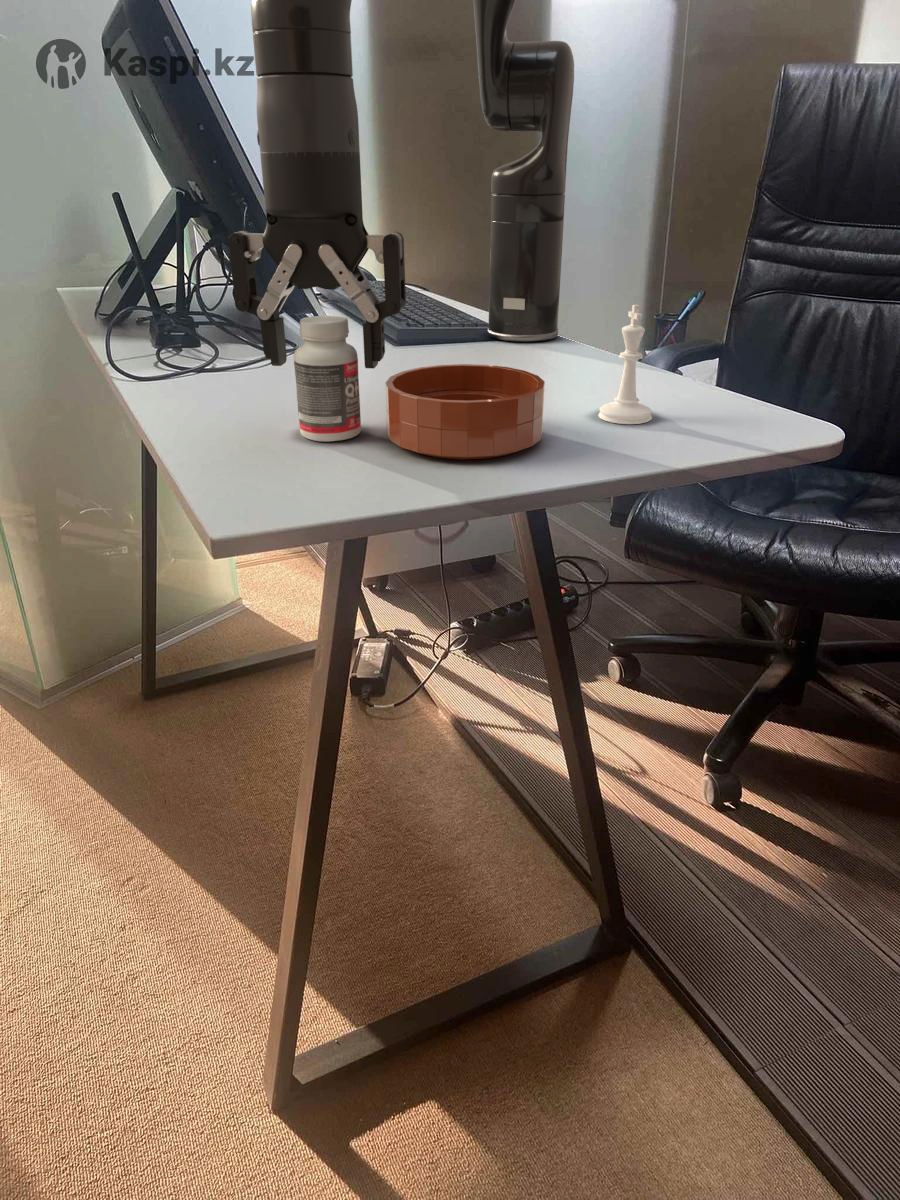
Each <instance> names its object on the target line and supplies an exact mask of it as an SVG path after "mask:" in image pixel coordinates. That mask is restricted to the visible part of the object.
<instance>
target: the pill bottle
mask: <svg viewBox="0 0 900 1200" xmlns="http://www.w3.org/2000/svg"><path fill="white" fill-rule="evenodd" d="M349 333H350V329H349V320H348V317H344V316H340V315H314V316H306V317H303V318H301V319H300V320H299V334H300V338H301V339H302V340H303V343H302V344H301V345H299V346H297V347H296V349H295V350H294V352H293V365H294V375H295V387H296V401H297V413H298V414H297V415H298V424H299V425H298V426H299V432H300V435H301V436H302V437H304V438H306V439H308V440H311V441H314V442H324V443H325V442H326V443H327V442H337V441H345V440H349V439H353V438H354V437H356V436H358V435H359V434H360V433H361V431H362V424H361V422H362V421H361V419H362V418H361V401H360V381H359V380H360V379H359V358H358V356H359V355H358V351H357V349H356V348H355V347H354V346H353V345H351V343H348V342H347V339H348V337H349Z"/></svg>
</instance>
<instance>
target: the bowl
mask: <svg viewBox="0 0 900 1200" xmlns="http://www.w3.org/2000/svg"><path fill="white" fill-rule="evenodd" d="M384 383H385V408H386V411H385V412H386V433H387V437H388V438H389V441H390V442H392V443H393V444H395V445H397V446H398V447H400V448H402V449H406V450H409V451H412V452H414V453H416V454H420V455H424V456H428V457H433V458H439V459H447V460H483V459H492V458H497V457H504V456H507V455H511V454H513V453H516V452H519V451H523V450H525V449H528V448H531V447H533V446H534V445H536V444H537V443H538V442H539V441H541V440H542V436H543V426H544V407H545V406H544V405H545V403H544V402H545V386H546V385H545V384H546V382H545V380H544V379H543V378H541V377H540V376H539V375H537V374H535V373H532V372H529V371H527V370H523V369H519V368H515V367H514V368H513V367H509V366H502V365H494V364H493V365H492V364H474V363H473V364H471V363H470V364H469V363H456V364H454V363H453V364H438V365H436V364H435V365H430V366H420V367H417V368H416V367H415V368H411V369H406V370H403V371H400V372H398V373H395V374H393V375H391V376H389V377H388V379H387V380H386V381H385V382H384Z"/></svg>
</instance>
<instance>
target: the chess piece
mask: <svg viewBox="0 0 900 1200" xmlns="http://www.w3.org/2000/svg"><path fill="white" fill-rule="evenodd" d="M639 312H640V305H639V304H632V307H631V310H629V311H628V315H627V316H628V317H629V318H630V324H628V325H625V326H623V327H622V328H621V333H622V337H623V342H624V343H623V344H624V346H625V350H624V351H622V352H619V354H618V358H620V359H621V360H624V365H623V371H622V376H621V379H620V380H621V381H620V385H619V389H618V393H617V396H615V397H614V398H613V400H614V401H611V402H608V403H605V404H602V406H600V407H599V413H598V417H599V419H601V420H603V421H605V422H608V423H612V424H619V425H640V424H646V423H648V422H650V421H651V420H652V419H653V416H652V413H653V411H652V409H651V408H650V407H649V406H647V405H645V404H642V403H640V399H639V398H638V397H637V382H636V380H637V378H636V377H637V375H636V373H637V372H636V368H637V367H636V362H637V361H638V360H642V359H643V358H644V357H643V353H641V352H639V350H638V348H639V346H640V344H641V341H642V339H643V336H644V335H645V331H646V329H645V327H643V326H641V325H639V324H638V321H639V320H642V316H643V313H639Z"/></svg>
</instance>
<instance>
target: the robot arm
mask: <svg viewBox="0 0 900 1200" xmlns="http://www.w3.org/2000/svg"><path fill="white" fill-rule="evenodd" d="M352 2H353V0H250V16H251V17H250V18H251V28H252V30H251V31H252V40H253V41H252V42H253V53H254V63H255V64H254V65H255V72H256V73H255V74H256V76H257V77H256V93H257V94H256V122H257V130H256V139H257V145H258V146H259V155H260V165H261V175H262V176H261V177H262V187H263V199H264V209H265V216H266V226H265V229H264V232H262V233H259V232H258V233H257V232H251V231H248V230H239V231H235V232H233V233H231V234H230V235H229V236H228V248H229V249H228V250H229V259H230V269H231V278H232V287H233V289H232V290H233V298H234V306H235V308H236V310H238V311H239V312H241V313H245V312H246V313H249V314H251V315H254V316H255V317H257V318H258V320H259V322H260V331H261V340H262V350H263V354H264V356H265V358H266V360H267V359H268V360H270V364H271V366H272V367H282V366H283V365H284V364H286V363H287V359H288V357H287V346H286V335H285V334H286V333H285V323H284V316H280V311H282V308H283V306H284V304H285V302H286V301H287V299H288V297H289V296H290V294H291V293H292V292H293V290H294V289H295V288H297V290H308V289H309V290H310V289H312V288H320V289H323V290H328V291H329V290H331V291H333V290H338V288H341V289H342V290H343V291H344V293H345V295H346V296H347V297H348V298H349V300H351V301H352V302H353V303H354V304H355V306H356V307H357V309H358V310H359V312H360V313H361V314H362V316H363V317H364V319H365V321H364V322H362V337H363V339H362V340H363V358H364V360H363V361H364V368H365V369H376V367H378V365H379V362H381V361H382V360H383V359H384V357H385V353H386V342H385V340H386V338H385V337H386V336H385V320H386V318H388V317H391V316H395V315H397V314H399V313H400V312H401V311H402V310H403V309H405V307H406V304H407V296H406V292H407V291H406V266H405V263H406V262H405V240H404V235H403V234H402V233H401V232H398V231H392V232H390V233H388V234H369V233H368V230H367V229H366V227H365V224H364V219H363V215H364V214H363V195H362V193H363V191H362V171H361V152H360V151H361V150H360V126H359V124H360V123H359V111H358V104H357V99H356V98H357V97H356V93H355V84H354V79H353V77H354V76H353V75H354V74H353V73H354V71H353V51H352V49H353V48H352V35H351V34H352V28H351V27H352V26H351V7H352ZM516 2H517V0H472V4H473V16H474V29H475V30H474V31H475V41H476V59H477V73H478V86H479V96H480V105H481V110H482V115H483V118H484V121H485V122H486V124H487V126H488V128H490V129H491V130H493V131H497V132H505V133H513V132H514V133H538V132H540V133H541V134H540V138H539V141H538V143H537V145H536V146H535V147H534V148H533V149H531V150H530V151H529V152H528V153H527V154H525V155H523V156H521V157H520V158H518V159H515V160H513V161H510V162H507V163H505V164H503V165H502V164H501V165H500V166H498V167H496V168H495V169H493V171H492V173H491V179H490V242H489V245H490V246H489V288H488V289H489V290H488V327H489V328H490V329H491V330H489V328H488V327H487V336H488V337H489V338H493V339H496V340H502V341H508V342H542V341H549V340H553V339H555V338H558V336H559V328H558V325H559V310H560V292H561V276H562V255H563V254H562V253H563V239H564V220H565V219H564V218H565V204H566V203H565V201H566V194H565V193H566V180H567V179H566V178H567V165H568V164H567V162H568V161H567V160H568V146H569V133H570V124H571V115H572V114H571V113H572V105H573V96H574V84H575V60H574V55H573V50H572V48H571V47H570V45H569V44H568V43H567V42H565V41H564V40H563V41H562V40H533V41H532V40H531V41H510V40H509V39H508V34H507V26H508V23H509V19H510V17H511V14H512V12H513V9H514V6H515V4H516ZM263 248H264V250H265V252H267V254H268V256H270V258H271V260H272V261H273V262H274V264H275V265H276V266H277V268H276V270H275V272H274V274H273V276H272V278H271V279H270V281H269V283H268V285H267V287H266V292H265V294H264V295H263V297H261V296H259V285H258V273H257V264H256V261H258V260H259V259H261V255H262V250H263ZM369 249H370V251H371V250H372V252H373V253H374V255H375V260H376V261H377V263H379V264H382V265H383V277H384V278H383V280H384V281H383V282H384V299H382V300H380V299H379V297H378V295H377V294H376V292H375V291H374V289H373V288H372V285H371V282H370V281H369V279H368V278H367V277H366V275H365V273H364V271H363V270H362V269H361V267H360V266H359V265H360V264H361V262H362V260H363V259H364V257H365V256H366V254H367V253H368V251H369Z"/></svg>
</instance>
